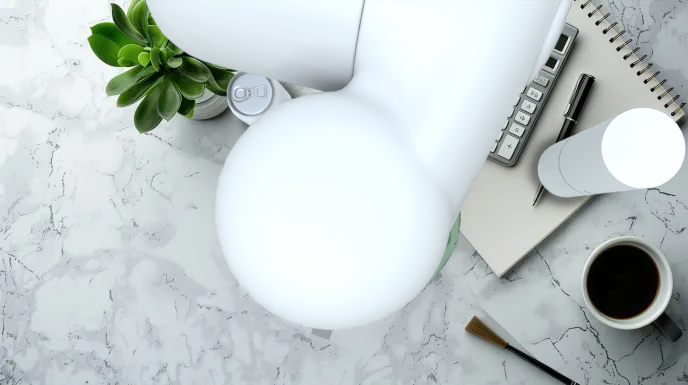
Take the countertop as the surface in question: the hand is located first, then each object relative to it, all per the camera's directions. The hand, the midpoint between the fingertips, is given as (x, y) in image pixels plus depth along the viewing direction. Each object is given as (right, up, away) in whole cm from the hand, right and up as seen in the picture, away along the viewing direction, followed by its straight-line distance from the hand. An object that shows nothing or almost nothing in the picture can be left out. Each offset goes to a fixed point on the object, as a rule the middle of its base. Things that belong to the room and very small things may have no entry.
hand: (370, 208), depth 47 cm
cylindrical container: (+26, +4, +32) cm, 42 cm away
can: (-12, +12, +36) cm, 40 cm away
